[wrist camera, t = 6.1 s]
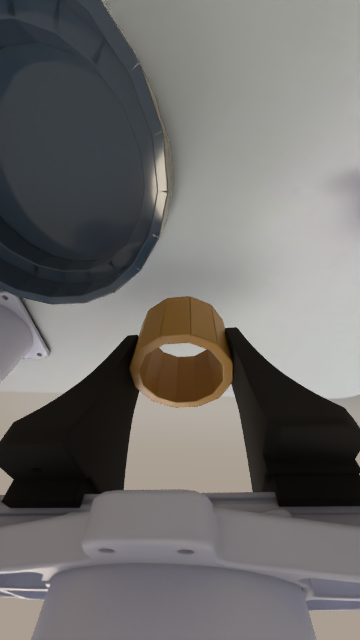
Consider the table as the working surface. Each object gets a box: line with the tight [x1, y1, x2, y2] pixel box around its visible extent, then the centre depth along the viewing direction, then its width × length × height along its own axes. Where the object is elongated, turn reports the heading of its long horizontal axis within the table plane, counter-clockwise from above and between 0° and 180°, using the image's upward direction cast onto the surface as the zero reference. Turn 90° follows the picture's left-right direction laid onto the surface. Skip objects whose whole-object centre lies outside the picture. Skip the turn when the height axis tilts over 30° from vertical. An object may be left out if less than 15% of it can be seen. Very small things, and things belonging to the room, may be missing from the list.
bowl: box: [0, 0, 173, 304], centre depth 14 cm, size 15×15×5 cm
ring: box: [129, 296, 233, 408], centre depth 12 cm, size 5×5×4 cm
